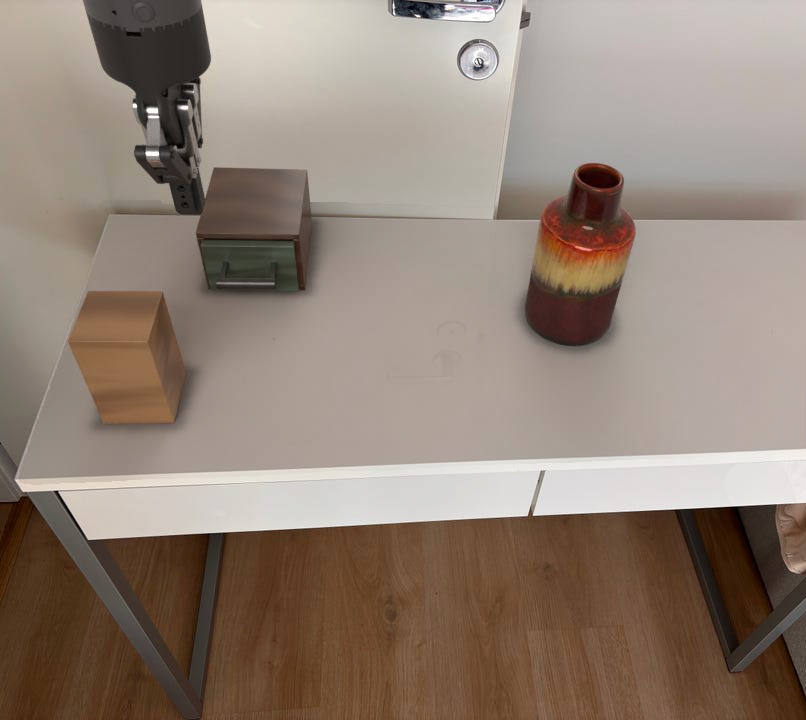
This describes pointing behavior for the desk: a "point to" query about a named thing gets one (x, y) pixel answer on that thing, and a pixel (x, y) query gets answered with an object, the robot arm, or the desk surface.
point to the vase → (580, 258)
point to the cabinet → (258, 209)
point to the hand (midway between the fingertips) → (191, 209)
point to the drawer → (251, 265)
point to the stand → (129, 356)
